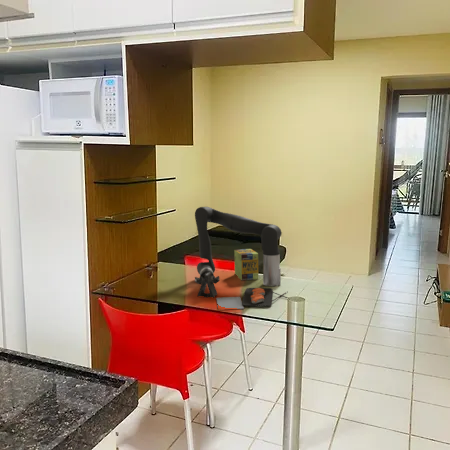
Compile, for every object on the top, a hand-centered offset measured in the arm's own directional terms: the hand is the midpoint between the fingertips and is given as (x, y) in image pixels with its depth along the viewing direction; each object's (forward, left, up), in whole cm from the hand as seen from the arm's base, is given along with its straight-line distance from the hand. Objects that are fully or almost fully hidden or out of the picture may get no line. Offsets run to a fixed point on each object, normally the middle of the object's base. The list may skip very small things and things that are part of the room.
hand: (207, 283), depth 236 cm
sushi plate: (-33, +9, -7) cm, 35 cm away
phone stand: (0, -1, -7) cm, 7 cm away
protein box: (-24, -35, -7) cm, 43 cm away
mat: (-10, +14, -7) cm, 18 cm away
